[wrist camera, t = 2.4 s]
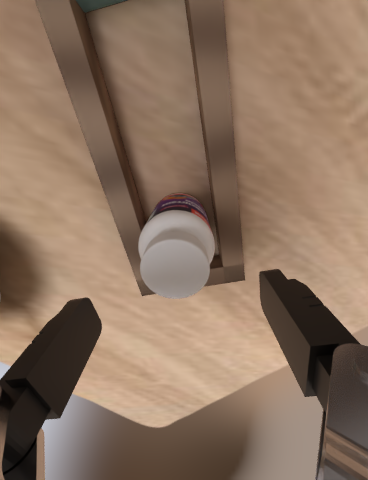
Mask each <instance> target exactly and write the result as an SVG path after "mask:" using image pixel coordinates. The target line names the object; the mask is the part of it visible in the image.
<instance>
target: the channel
mask: <svg viewBox="0 0 368 480" xmlns="http://www.w3.org/2000/svg"><path fill="white" fill-rule="evenodd" d="M123 1H127V0H35V2H36V5H37V8H38V11H39V13H40V16H41V19H42V22H43V24H44V27H45V30H46V33H47V35H48V38H49V41H50V44H51V46H52V49H53V52H54V55H55V57H56V60H57V63H58V66H59V68H60V71H61V74H62V77H63V79H64V82H65V85H66V88H67V90H68V93H69V96H70V99H71V102H72V104H73V107H74V110H75V113H76V115H77V118H78V121H79V124H80V126H81V129H82V132H83V135H84V137H85V140H86V143H87V146H88V148H89V151H90V154H91V157H92V159H93V162H94V165H95V168H96V170H97V173H98V176H99V179H100V181H101V184H102V187H103V190H104V192H105V195H106V198H107V201H108V203H109V206H110V209H111V212H112V215H113V217H114V220H115V223H116V226H117V228H118V231H119V234H120V237H121V239H122V242H123V245H124V248H125V250H126V253H127V256H128V259H129V261H130V264H131V267H132V270H133V272H134V275H135V278H136V281H137V283H138V286H139V289H140V292H141V294H142V296H145V295H152V294H156V293H154V292H153V291H152V290H150V289H149V288H148V287H147V285H146V284H145V283H144V281H143V279H142V277H141V273H140V263H141V258H140V254H139V249H138V243H139V237H140V234H141V232H142V230H143V228H144V226H145V224H146V221H145V217H144V214H143V211H142V207H141V204H140V200H139V197H138V194H137V190H136V187H135V183H134V180H133V176H132V173H131V170H130V166H129V163H128V159H127V156H126V153H125V149H124V146H123V142H122V139H121V136H120V132H119V129H118V125H117V122H116V118H115V115H114V112H113V108H112V105H111V101H110V98H109V95H108V91H107V88H106V84H105V81H104V78H103V74H102V71H101V67H100V64H99V60H98V57H97V54H96V50H95V47H94V43H93V40H92V37H91V33H90V30H89V26H88V23H87V19H86V16H85V13H86V12H89V11H92V10H96V9H99V8H103V7H106V6H110V5H113V4H116V3H120V2H123ZM185 5H186V13H187V20H188V27H189V35H190V42H191V49H192V57H193V64H194V72H195V79H196V86H197V94H198V101H199V108H200V116H201V123H202V131H203V138H204V145H205V153H206V160H207V167H208V175H209V182H210V190H211V197H212V204H213V212H214V219H215V227H216V234H217V241H218V249H219V255H216V256H213V259H212V261H211V263H210V274H209V278H208V280H207V282H206V284H205V285H204V286H210V285H217V284H223V283H230V282H237V281H243V280H245V275H244V262H243V249H242V236H241V223H240V210H239V197H238V184H237V171H236V158H235V145H234V132H233V119H232V106H231V94H230V81H229V68H228V55H227V42H226V29H225V16H224V3H223V0H185Z"/></svg>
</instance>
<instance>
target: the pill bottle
mask: <svg viewBox="0 0 368 480" xmlns="http://www.w3.org/2000/svg"><path fill="white" fill-rule="evenodd" d="M138 249H139V254H140V258H141V263H140V273H141V277H142V279H143V281H144V283H145V284H146V285H147V287H148V288H149V289H150V290H152V291H153V292H154V293H156V294H158V295H160V296H163V297H166V298H172V299H180V298H185V297H189V296H191V295H193V294H195V293H197V292H198V291H200V290H201V289H202V288H203V287H204V285H205V284H206V282H207V280H208V278H209V274H210V263H211V261H212V259H213V256H214V251H215V242H214V237H213V233H212V231H211V228H210V225H209V222H208V219H207V215H206V212H205V210H204V207H203V206H202V204H201V203H200V202H199V201H198V200H197V199H196V198H194V197H193V196H191V195H188V194H184V193H175V194H171V195H168V196H166V197H165V198H163V199H162V200H161V201H160V202H159V203H158V204H157V206H156V207H155V209H154V211H153V212H152V214H151V216H150V218H149V219H148V221H147V223H146V224H145V226H144V228H143V230H142V232H141V234H140V237H139V243H138Z"/></svg>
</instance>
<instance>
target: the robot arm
mask: <svg viewBox="0 0 368 480" xmlns="http://www.w3.org/2000/svg"><path fill="white" fill-rule="evenodd" d="M259 278H260V300H261V305H262V309H263V312H264V314H265V316H266V318H267V320H268V322H269V324H270V326H271V328H272V330H273V332H274V335H275V337H276V339H277V341H278V343H279V345H280V347H281V349H282V351H283V353H284V355H285V357H286V359H287V361H288V363H289V365H290V367H291V369H292V371H293V373H294V375H295V377H296V380H297V382H298V384H299V386H300V388H301V390H302V392H303V394H304V396H305V397H309V396H317V398H318V400H319V401H320V403H321V405H322V407H323V415H322V423H321V433H320V441H319V450H318V459H317V468H316V477H315V480H368V346H364V345H361V344H360V343H359V342H358V341H357V340H356V339H355V338H354V337H353V336H352V335H351V333H350V332H349V331H348V330H347V329H346V328H345V327H344V326H343V325H342V324H341V323H340V321H339V320H338V319H337V318H336V317H335V316H334V315H333V314H332V313H331V312H330V311H329V309H328V308H327V307H326V306H324V305H323V303H322V302H321V301H320V300H319V299H318V297H316V295H315V294H314V293H313V292H312V291H311V290H310V289H309V288H308V287H307V286H306V285H305V284H303V283H301V282H299V281H298V280H296V279H290V280H288V279H287V278H286V277H285V276H284V274H283V273H282V272H281V271H280V270H279V269H274V270H268V271H261V272H260V274H259ZM101 330H102V324H101V320H100V318H99V316H98V314H97V312H96V310H95V308H94V306H93V304H92V302H91V300H90V299H89V298H80V299H73V300H70V301H68V302H67V304H66V305H65V306H64V307H63V309H62V310H61V311H60V312H59V313H58V314H57V315H56V316H55V317H54V318H52V319H51V320H50V321H49V322H48V323H47V324H46V325H45V326H44V328H43V329H42V330H41V331H40V332H39V333H40V334H39V335H37V336H36V337H35V338H34V340H33V341H32V344H30V345H29V346H28V347H27V348H26V349H25V351H24V352H23V353H22V354H21V355H20V357H19V358H18V359H17V360H16V361H15V363H14V364H13V365H12V366H11V367H10V369H9V370H8V371H7V372H6V374H5V375H4V376H3V377H2V378H1V380H0V480H45V456H44V432H43V430H42V429H41V427H42V425H43V423H44V421H45V420H46V419H57V418H60V417H61V415H62V413H63V411H64V409H65V407H66V405H67V403H68V401H69V399H70V396H71V394H72V392H73V390H74V388H75V386H76V384H77V382H78V380H79V378H80V376H81V374H82V371H83V369H84V367H85V365H86V363H87V361H88V359H89V357H90V355H91V353H92V351H93V349H94V347H95V344H96V342H97V340H98V338H99V336H100V334H101Z"/></svg>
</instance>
